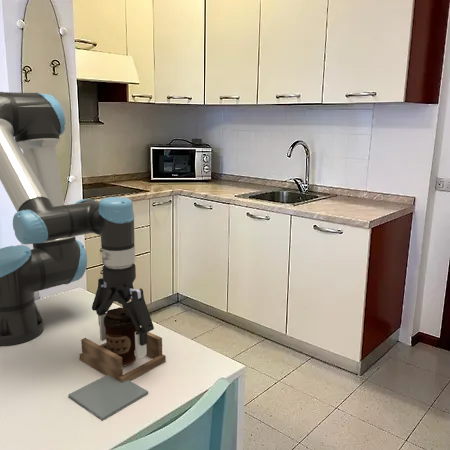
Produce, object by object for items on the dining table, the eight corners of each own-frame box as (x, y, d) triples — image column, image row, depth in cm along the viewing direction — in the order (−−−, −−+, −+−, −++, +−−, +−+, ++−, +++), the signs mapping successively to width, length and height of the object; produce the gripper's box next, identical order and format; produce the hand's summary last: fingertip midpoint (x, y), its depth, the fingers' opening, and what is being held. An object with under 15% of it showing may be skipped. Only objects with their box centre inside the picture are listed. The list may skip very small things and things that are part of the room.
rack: (79, 360, 115) (78, 337, 114) (123, 340, 125) (122, 319, 124) (122, 385, 105) (121, 361, 104) (165, 361, 115) (165, 339, 114)
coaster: (68, 396, 101) (68, 394, 100) (113, 373, 110) (113, 371, 109) (102, 420, 93) (102, 417, 93) (148, 393, 102) (148, 391, 102)
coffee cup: (131, 372, 110) (130, 321, 107) (98, 368, 112) (96, 318, 109) (145, 354, 118) (143, 306, 115) (114, 350, 120) (112, 303, 117)
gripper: (74, 257, 114) (79, 337, 119) (142, 280, 99) (145, 371, 104) (99, 250, 120) (104, 327, 125) (168, 271, 104) (169, 358, 109)
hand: (122, 347), depth 114 cm, fingers open, 13 cm apart
